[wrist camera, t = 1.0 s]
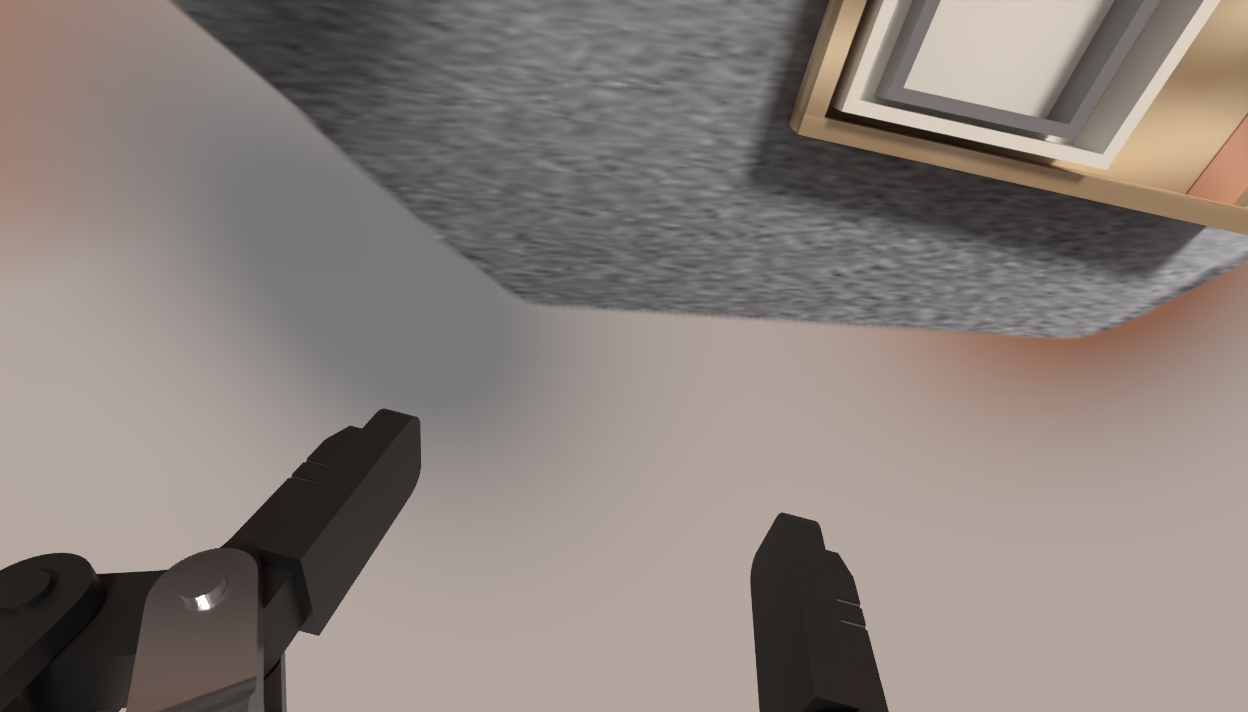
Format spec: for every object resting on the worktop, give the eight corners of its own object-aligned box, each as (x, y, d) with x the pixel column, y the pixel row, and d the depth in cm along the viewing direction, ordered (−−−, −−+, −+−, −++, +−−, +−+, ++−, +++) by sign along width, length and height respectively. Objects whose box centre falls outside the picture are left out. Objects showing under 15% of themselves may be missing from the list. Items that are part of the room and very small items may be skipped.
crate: (926, -171, 22) (961, -207, 19) (1225, -109, 22) (1311, -136, 19) (827, 104, 28) (841, 111, 25) (1061, 156, 28) (1106, 170, 25)
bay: (899, -215, 23) (933, -261, 19) (1475, -97, 22) (1615, -124, 18) (787, 124, 30) (797, 134, 27) (1214, 220, 29) (1280, 242, 26)
